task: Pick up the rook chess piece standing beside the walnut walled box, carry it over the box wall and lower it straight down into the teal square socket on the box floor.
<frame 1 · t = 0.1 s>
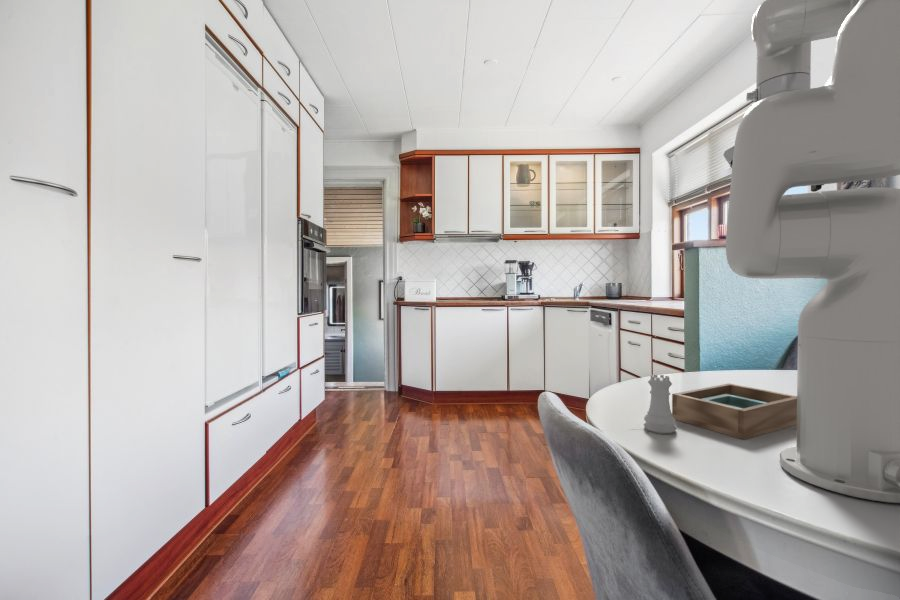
hand: (781, 193, 77), 37 cm above the table, tool pointing down, fingers open, 9 cm apart
rook chess piece: (659, 431, 65), on the table
walled box: (735, 420, 69), on the table
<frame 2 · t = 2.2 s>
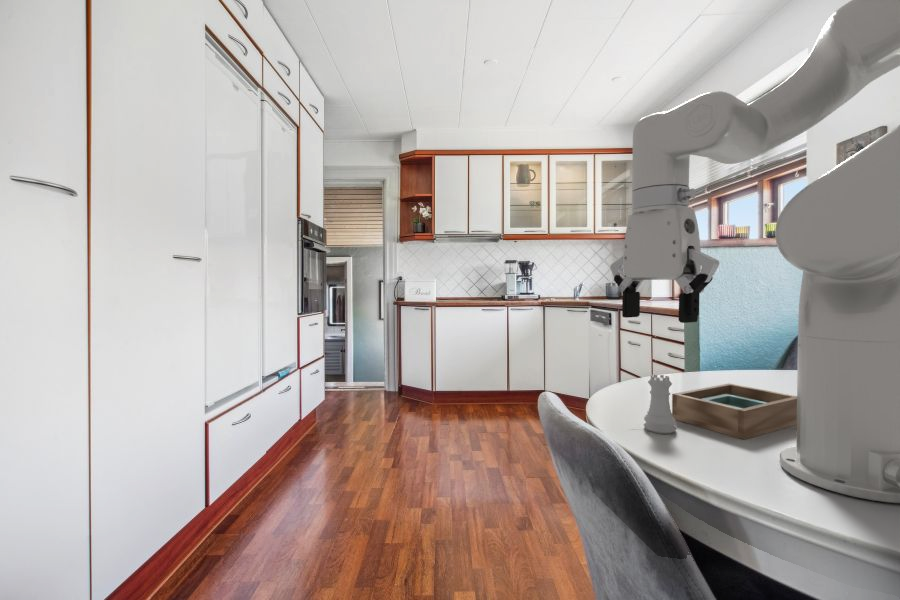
hand: (657, 319, 65), 16 cm above the table, tool pointing down, fingers open, 9 cm apart
nothing on the table moved.
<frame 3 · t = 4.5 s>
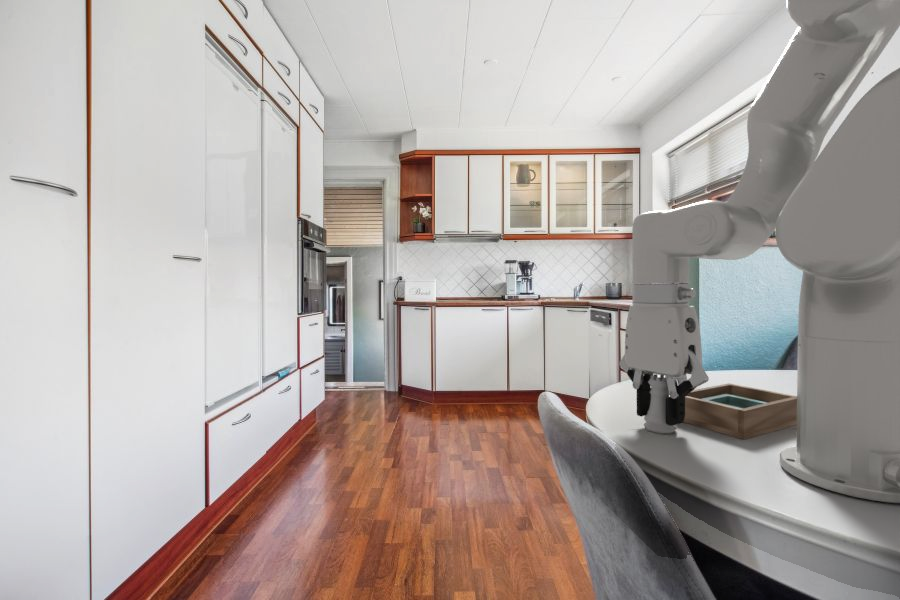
hand: (659, 417, 65), 2 cm above the table, tool pointing down, fingers closed on rook chess piece, 4 cm apart
rook chess piece: (659, 430, 65), on the table, touching gripper
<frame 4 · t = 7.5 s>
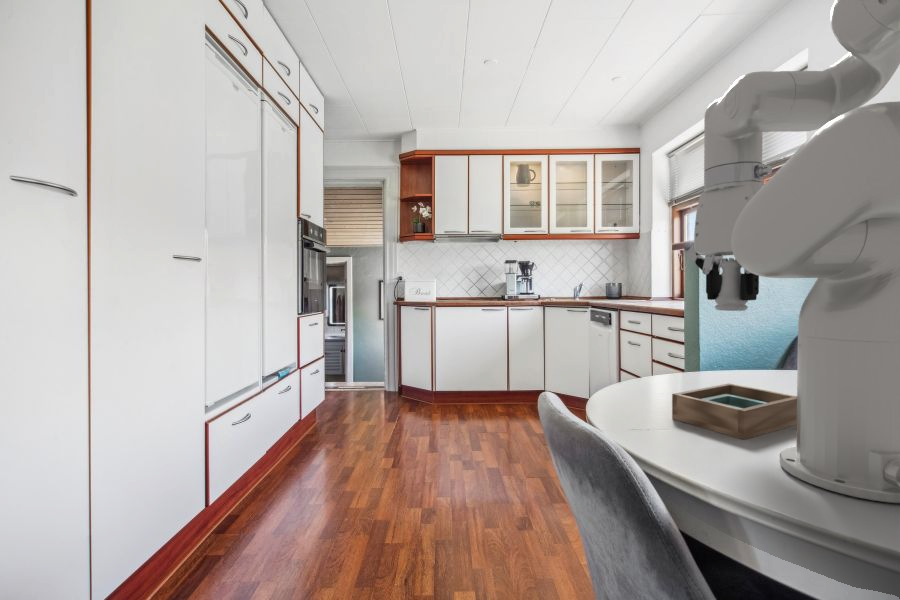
hand: (731, 298, 68), 19 cm above the table, tool pointing down, fingers closed on rook chess piece, 4 cm apart
rook chess piece: (731, 311, 68), point 17 cm above the table, touching gripper
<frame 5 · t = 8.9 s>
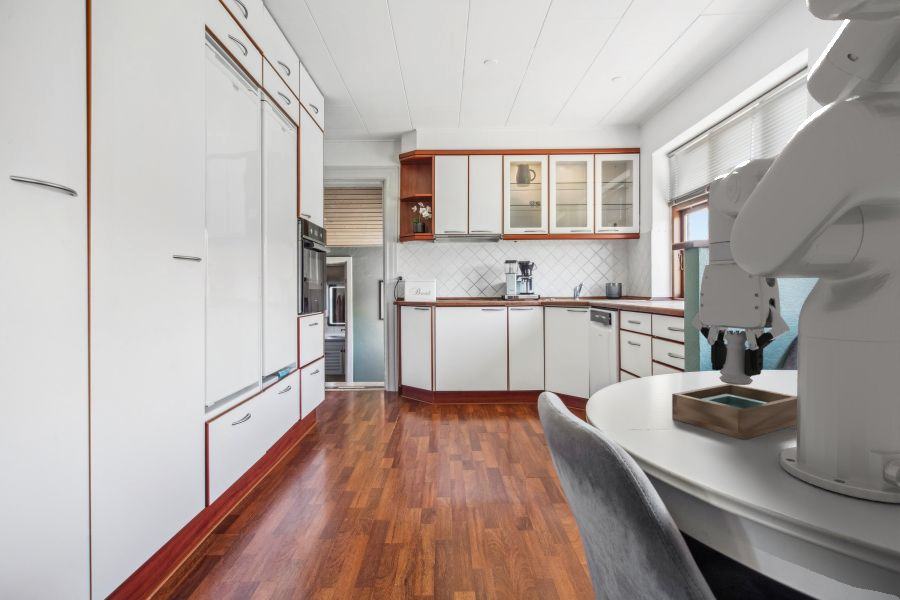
hand: (735, 370, 69), 8 cm above the table, tool pointing down, fingers closed on rook chess piece, 4 cm apart
rook chess piece: (735, 383, 69), point 6 cm above the table, touching gripper
when the fingers open (4 cm above the table, at t = 10.4 s): rook chess piece drops 1 cm, resting on walled box.
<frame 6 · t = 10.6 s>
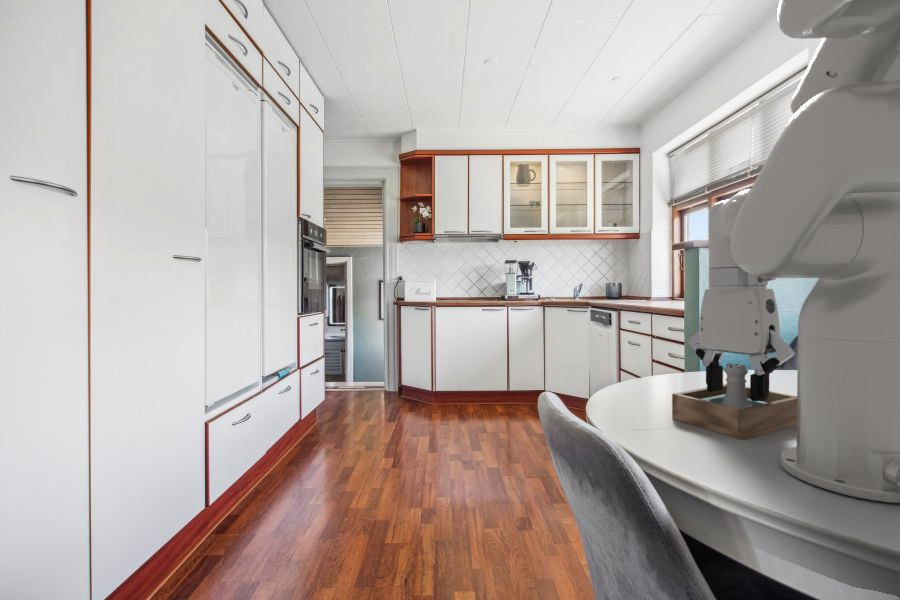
hand: (735, 393, 69), 4 cm above the table, tool pointing down, fingers open, 6 cm apart
rook chess piece: (736, 416, 69), point 1 cm above the table, touching walled box
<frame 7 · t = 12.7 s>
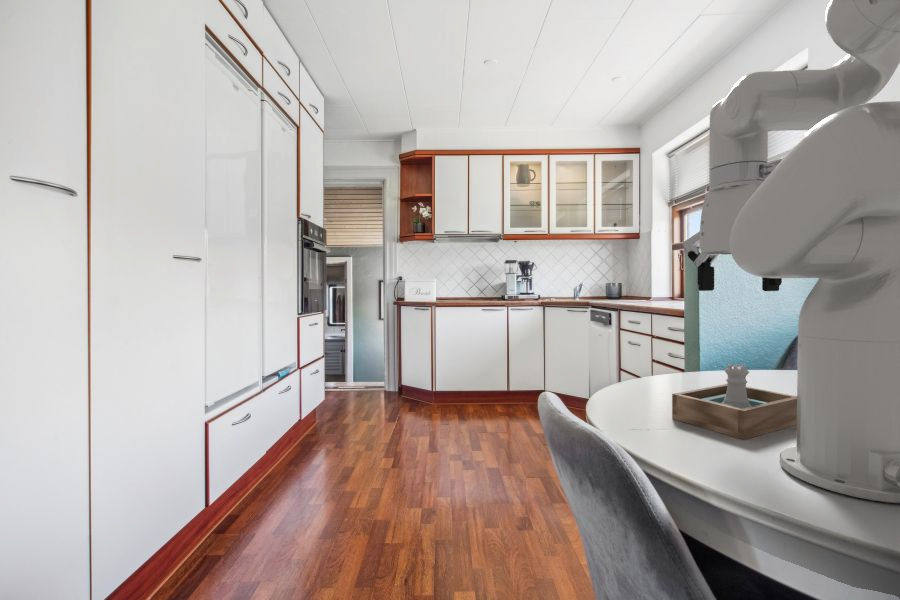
hand: (736, 290, 68), 20 cm above the table, tool pointing down, fingers open, 9 cm apart
nothing on the table moved.
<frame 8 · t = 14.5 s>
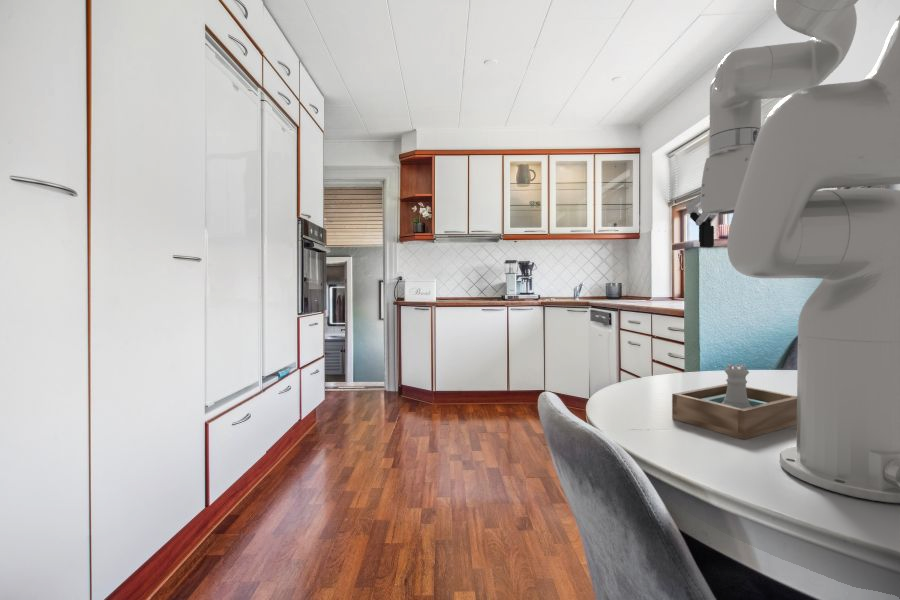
hand: (733, 244, 77), 28 cm above the table, tool pointing down, fingers open, 9 cm apart
nothing on the table moved.
at the end: rook chess piece 0.2 cm off-centre on the walled box, point 0.6 cm above the walled box's base; rook chess piece tilted 0°; the gripper is holding nothing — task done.
